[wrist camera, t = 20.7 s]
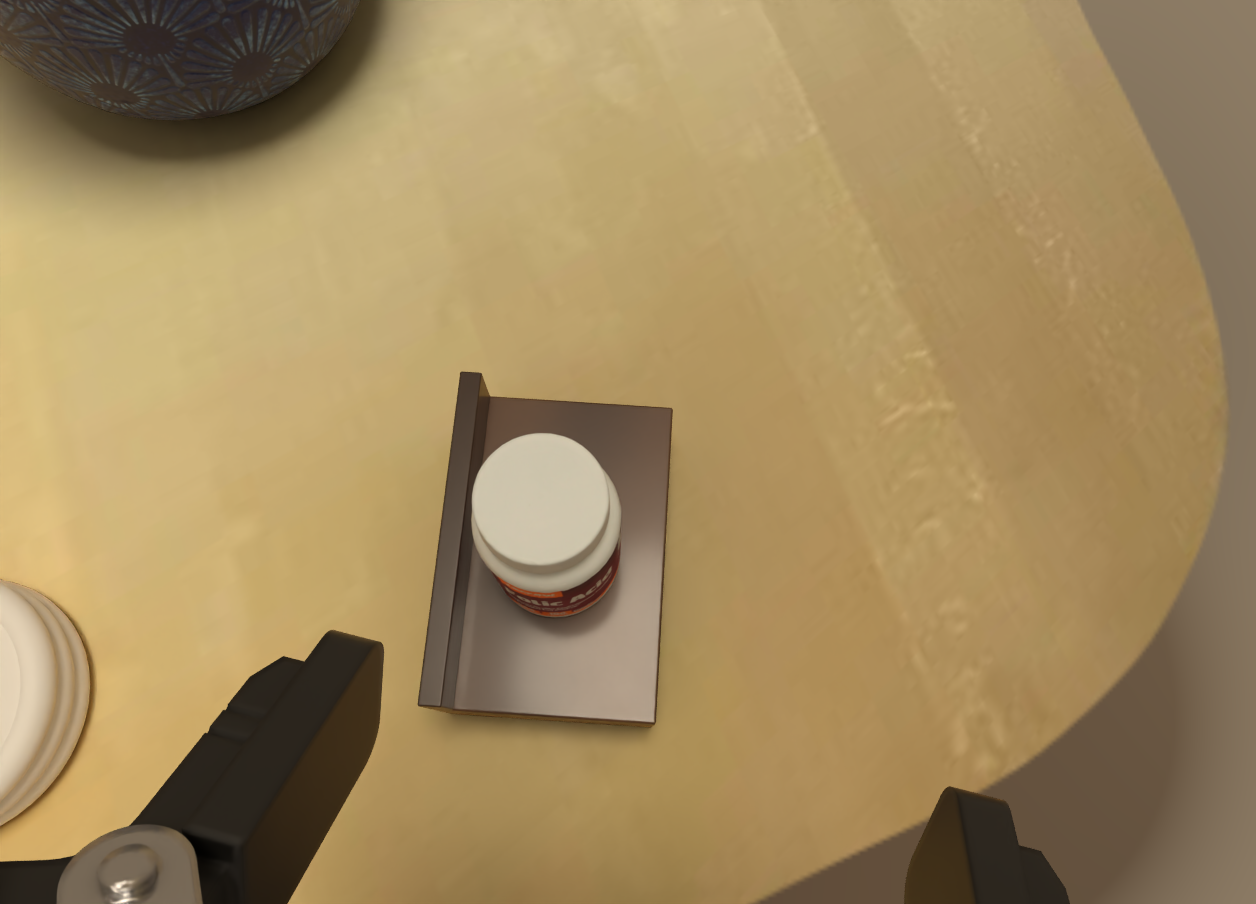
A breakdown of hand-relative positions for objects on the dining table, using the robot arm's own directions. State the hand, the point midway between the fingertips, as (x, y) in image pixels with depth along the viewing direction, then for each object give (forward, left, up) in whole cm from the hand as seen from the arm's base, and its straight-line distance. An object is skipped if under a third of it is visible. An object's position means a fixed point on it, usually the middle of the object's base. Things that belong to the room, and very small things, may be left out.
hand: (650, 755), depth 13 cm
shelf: (+3, -7, -25) cm, 26 cm away
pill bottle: (+3, -7, -21) cm, 22 cm away
